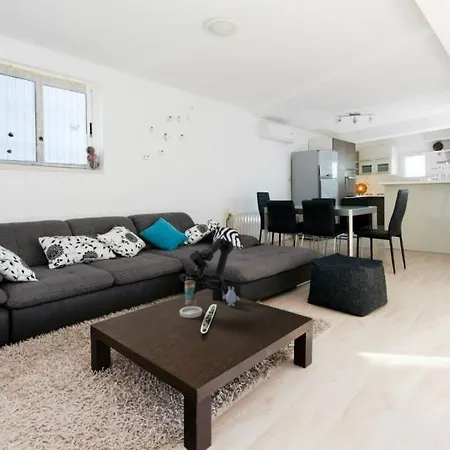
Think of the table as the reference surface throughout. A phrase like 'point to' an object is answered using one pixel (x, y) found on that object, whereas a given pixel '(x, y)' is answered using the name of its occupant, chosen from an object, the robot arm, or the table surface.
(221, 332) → the table surface
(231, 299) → the toy figure
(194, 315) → the ceramic dish
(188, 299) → the disc
